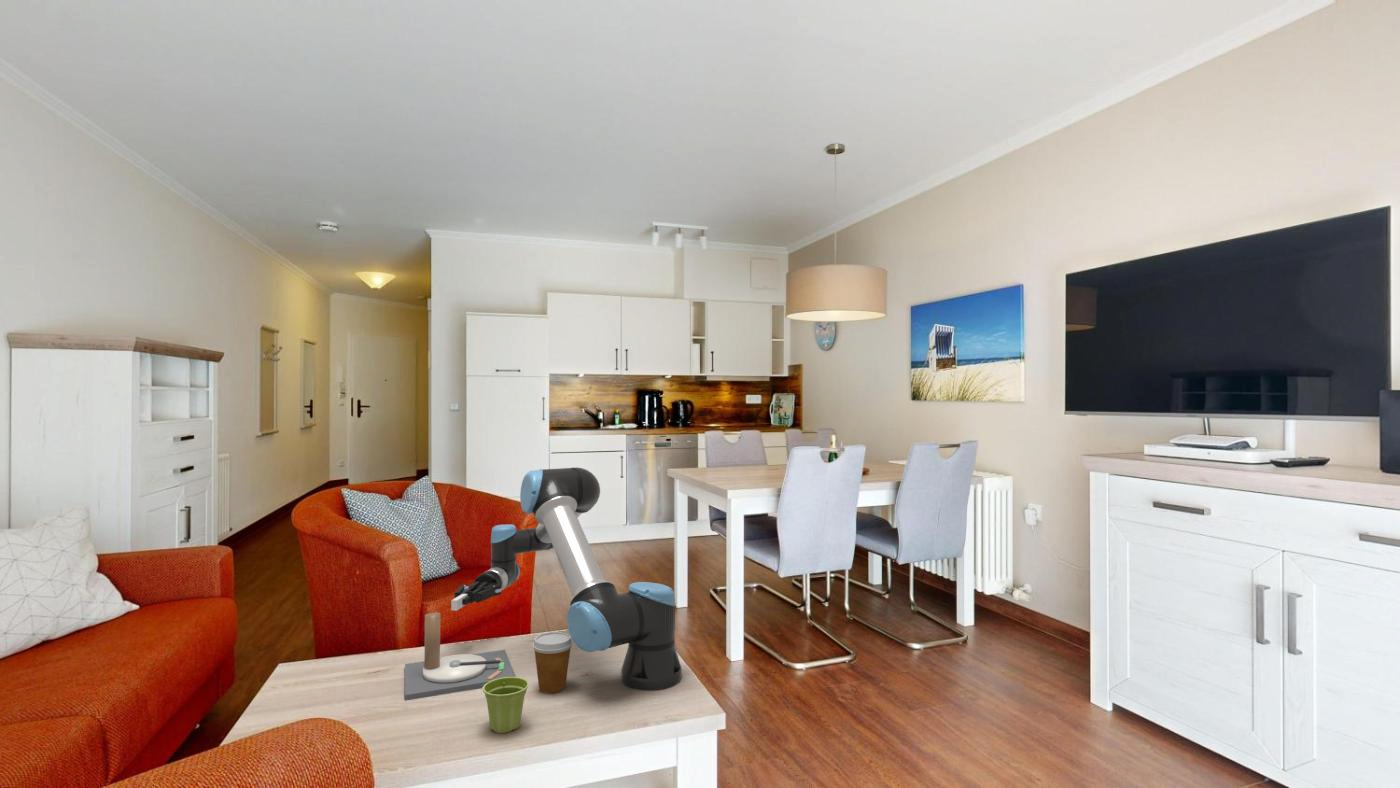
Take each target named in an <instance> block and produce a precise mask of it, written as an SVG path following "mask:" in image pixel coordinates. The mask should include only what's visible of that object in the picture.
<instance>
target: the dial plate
mask: <svg viewBox="0 0 1400 788" xmlns="http://www.w3.org/2000/svg"><path fill="white" fill-rule="evenodd" d="M472 655H478V656H481V657H483V658H485V660H486V661H493V660H501V662H500V663H498V664H486V669H485V671H484V672H482V673H481V674H479V675H478V676H476V677H473V678H470V679H467V680H463V681H458V682H450V683H438V682H432V681H428V680H426V679H425V678H424V677H423V668H424V661H417V662H409V663H404V701H410V700H415V699H421V698H427V697H434V696H439V695H446V694H451V693H452V694H453V693H458V692H464V691H472V690H475V689H476V690H477V689H481V688H482V687H483V686H484V685H485V684H486V683H488V682H489V681H492V680H494V679H498V678H503V677H517V675H516V674H515V671H514V668H513V666H512V663H511V660H510V658H509V656H508V654H507V651H506V649H499V650H493V651H487V652H480V653H479V652H478V653H472ZM482 689H483V688H482Z"/></svg>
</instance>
